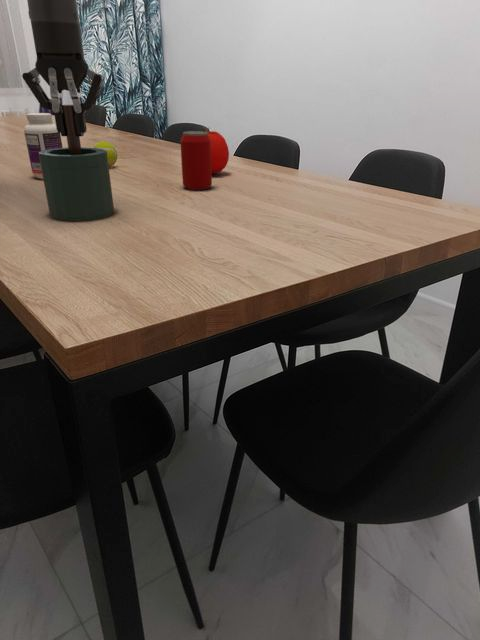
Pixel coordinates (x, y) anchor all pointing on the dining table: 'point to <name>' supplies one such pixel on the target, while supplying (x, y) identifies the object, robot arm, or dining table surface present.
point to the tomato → (218, 151)
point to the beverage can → (196, 160)
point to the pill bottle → (40, 138)
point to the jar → (77, 184)
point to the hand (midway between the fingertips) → (72, 135)
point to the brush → (71, 130)
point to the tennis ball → (108, 152)
